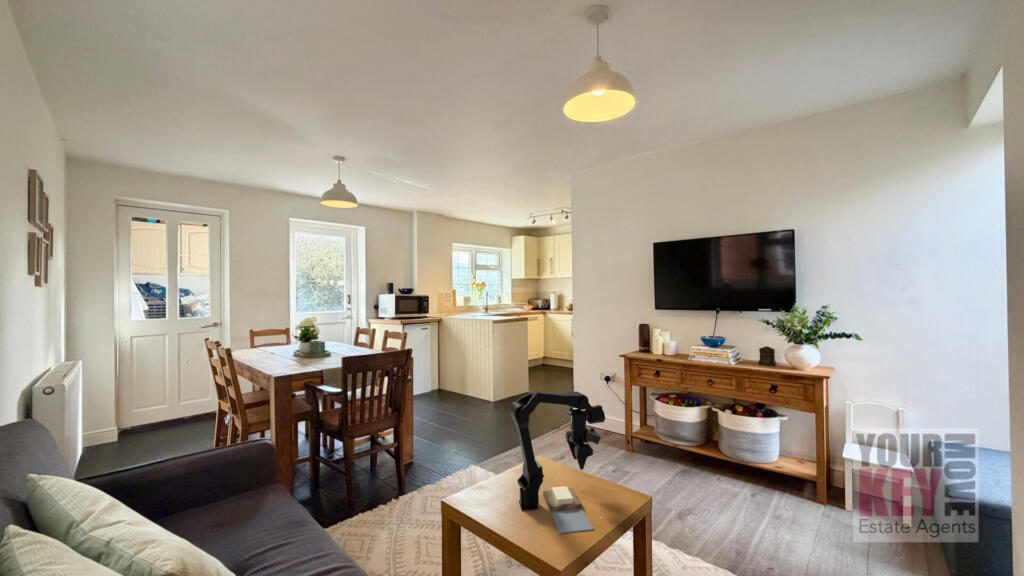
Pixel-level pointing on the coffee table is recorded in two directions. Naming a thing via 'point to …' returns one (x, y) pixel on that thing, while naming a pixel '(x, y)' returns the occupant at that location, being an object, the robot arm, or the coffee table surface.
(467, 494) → the coffee table surface
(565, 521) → the mat
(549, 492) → the plate
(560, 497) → the tile
